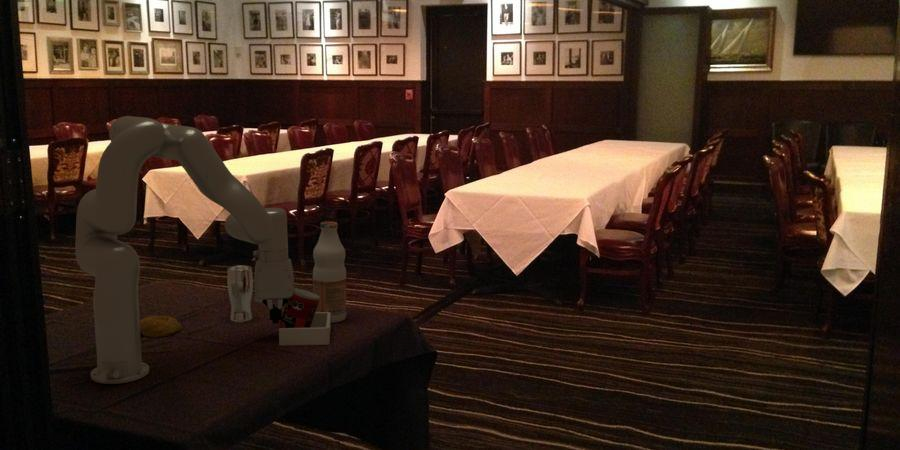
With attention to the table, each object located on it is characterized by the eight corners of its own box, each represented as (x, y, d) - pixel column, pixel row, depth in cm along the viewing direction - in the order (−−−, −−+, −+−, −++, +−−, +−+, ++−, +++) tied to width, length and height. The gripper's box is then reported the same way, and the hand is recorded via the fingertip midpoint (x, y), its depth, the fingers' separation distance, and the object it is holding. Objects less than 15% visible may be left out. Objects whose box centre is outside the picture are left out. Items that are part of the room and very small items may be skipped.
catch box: (329, 344, 213) (329, 328, 212) (279, 345, 211) (278, 329, 211) (330, 327, 227) (330, 312, 226) (283, 328, 226) (283, 312, 225)
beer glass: (257, 316, 236) (255, 265, 233) (249, 323, 229) (247, 271, 227) (233, 315, 237) (232, 264, 234) (225, 322, 230) (223, 270, 227)
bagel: (184, 335, 219) (183, 318, 218) (141, 341, 214) (140, 323, 213) (177, 325, 228) (177, 308, 227) (136, 330, 222) (135, 313, 222)
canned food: (274, 324, 220) (287, 286, 219) (301, 329, 224) (313, 291, 224) (284, 334, 213) (297, 294, 213) (311, 338, 218) (324, 299, 217)
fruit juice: (306, 320, 233) (305, 224, 228) (324, 312, 241) (323, 218, 236) (335, 325, 229) (334, 227, 224) (352, 316, 238) (352, 221, 232)
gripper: (242, 259, 210) (245, 327, 214) (301, 257, 212) (303, 325, 215) (245, 252, 217) (248, 319, 221) (303, 251, 219) (305, 317, 223)
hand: (276, 322), depth 218 cm, fingers closed
